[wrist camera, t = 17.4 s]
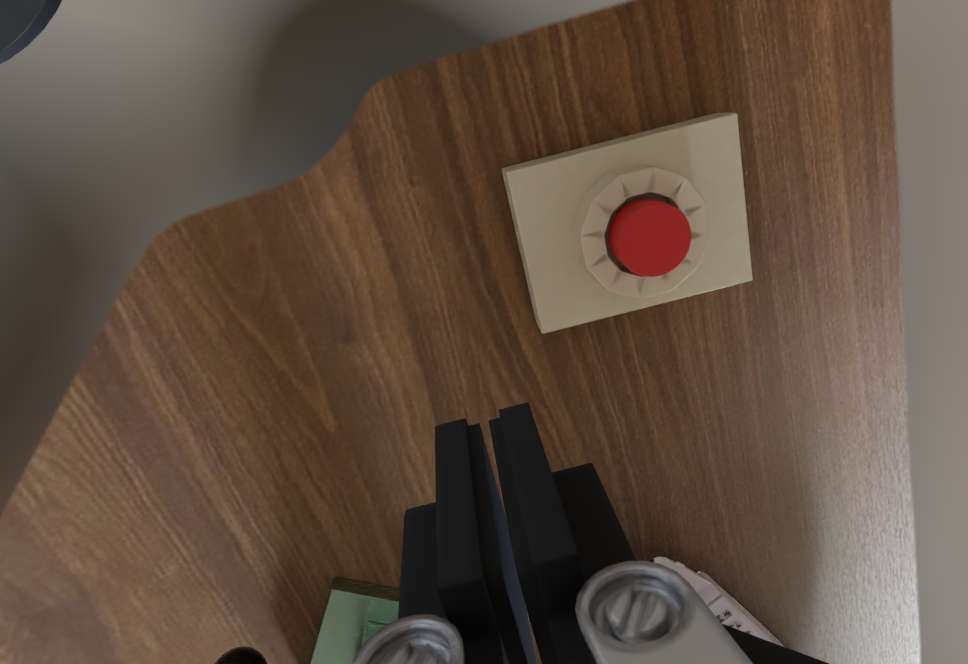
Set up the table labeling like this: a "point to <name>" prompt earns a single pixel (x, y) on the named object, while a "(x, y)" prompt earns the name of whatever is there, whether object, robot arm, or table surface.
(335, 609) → the bracket
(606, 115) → the table surface
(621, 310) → the button block
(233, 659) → the lever
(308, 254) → the table surface
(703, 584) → the mobile phone
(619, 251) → the button
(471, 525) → the robot arm
